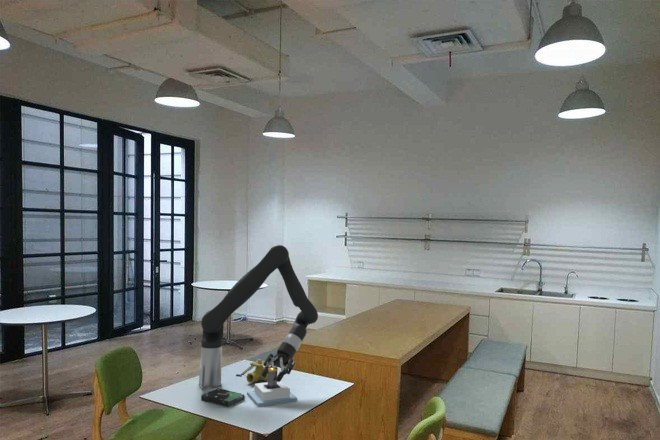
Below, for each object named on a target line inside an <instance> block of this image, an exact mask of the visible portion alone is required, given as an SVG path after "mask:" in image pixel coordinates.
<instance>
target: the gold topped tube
mask: <svg viewBox="0 0 660 440" xmlns="http://www.w3.org/2000/svg"><path fill="white" fill-rule="evenodd" d="M278 369H279V367H270V366H269V368H268V386H267V389H275V388H277V381H276V377H277V376H278Z"/></svg>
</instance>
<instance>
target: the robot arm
mask: <svg viewBox="0 0 660 440" xmlns="http://www.w3.org/2000/svg"><path fill="white" fill-rule="evenodd" d="M276 270H278V272H279V274H280V275H281V277H282V280H283V283H284V285H285V288H286V291H287V293H288V295H289V297H290V299H291V302H292V304H293V305H294V307H295V308H299V310H300V311H299V313H298V314H297V316H295V317H296V318H295V320H294V323H293V326H292V327H291V329H290V330H289V332H288V333H287V335H286V336H285V337H284V339H283V340H282V342H281V344H280V345H279V346H278V348H277V351H276V354H273V353H270V354H268V356H267V357H266V359H265V360H264V361H265V362H264V363H263V367H265V369H264V370H263V372H262V376H263V377H264V378H265V377H266V375H267V374H268V368H269V367H277V368H280V371H279V373H277V377H276V381H277V382H280V381H281V382H282V380H283V378H284V376H285V375H290V374H291V372H292V371H293V368H294V367H295V365H296V362H295V360H294V359H293V358H294V357H295V356H296V354H297V351H298V350H299V349H300V346H301V344H302V342H303V340H304V339H305V337H306V335H307V334H308V333H307V327H308V326H309V325H313V324H315V323H317V321H318V319H319V314H318V313H319V312H318V311H317V309H316V307H315V305H313V303H312V302H311V300H310V299H309V298H308V296H307V294H306V292H305V290H304V288H303V286H302V284H301V282H300V280H299V278H298V277H297V275H296V272H295V270H294V267H293V265H292V262H291V258H290V253H289V250H288V248H287V247H286V246H284V245H283V244H282V245H281V244H276V245H275V244H274V245H273V246H272V247H270V248H269V251H267V253H266V254H265V255H264V257H263V258H262V259H261V260H260V261H259V262H258V263H257V264H256V265H255V266H254V267H252V268H251V269H250V270H249V271H248V272H246V273H245V274H244V275H243V276H242V277H241V278H240V279H239V280H237V281H236V283H235V284H234V285H233V286H232V287H231V289H230V290H229V291H228V292H227V293H226V295H225V296H224V298H223V299H222V300H221V301H220V302H219V303H218V304H216V306H214V307H213V308H212V309H210V310H208V311H207V312H205V313H204V314H203V316H202V318H201V321H200V322H201V328H202V336H201V337H202V338H201V348H200V349H201V350H200V362H199V370H198V372H199V373H198V384H199V385H200V387H201V388H216V387H219V386H220V385H222V368H223V367H222V364H223V363H222V360H223V340H224V328H225V327H224V326H225V325H224V324H225V322H226V321H227V320H228V319H229V318H230V316H231V315H232V314H233V313H234V312H235V311H236V310H238V309H239V308H240V307H242V305H244V304H245V303H246V302H247V301H249V300H250V299H251V298H252V297H253V296H254V295H255V293H256V292H257V291H258V290H259V289H260V288H261V286H263V284H264V283H265V281H266V280H267V279H268V278H269V276H270V275H271V274H272V273H273V272H275V271H276ZM267 362H268V363H267Z"/></svg>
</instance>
